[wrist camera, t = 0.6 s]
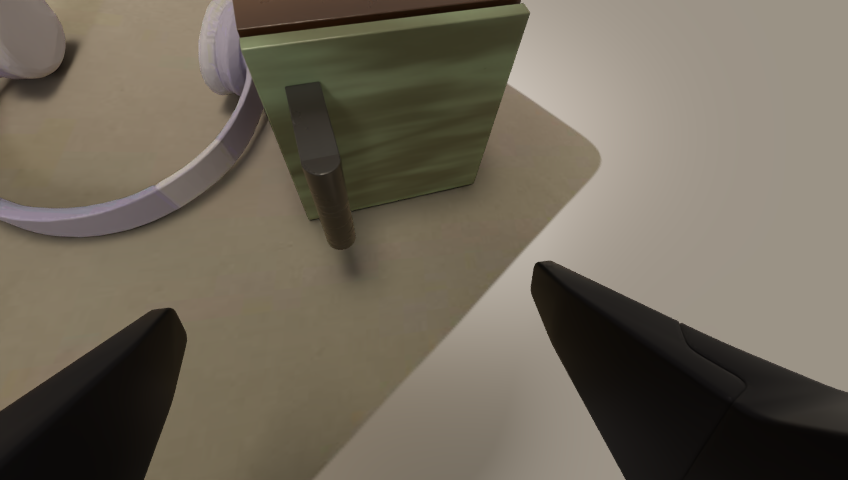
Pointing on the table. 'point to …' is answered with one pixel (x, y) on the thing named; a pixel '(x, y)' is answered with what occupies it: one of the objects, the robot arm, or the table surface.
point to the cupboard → (338, 12)
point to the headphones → (224, 74)
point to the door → (384, 105)
